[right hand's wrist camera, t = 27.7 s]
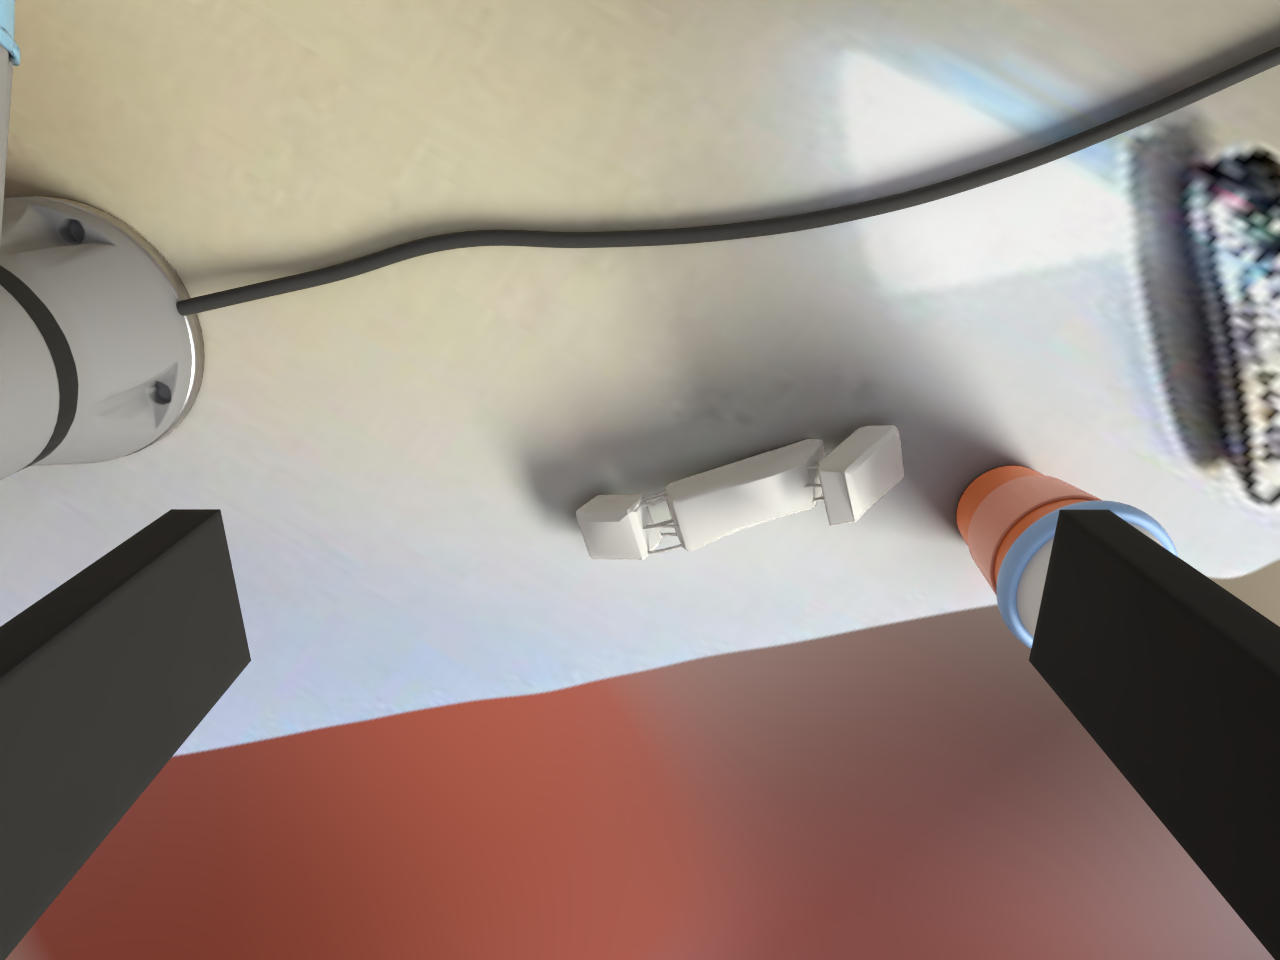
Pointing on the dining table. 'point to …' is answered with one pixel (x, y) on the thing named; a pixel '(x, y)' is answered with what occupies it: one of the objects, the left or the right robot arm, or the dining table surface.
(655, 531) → the clamp
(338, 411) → the dining table surface
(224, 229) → the dining table surface
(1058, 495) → the cup with straw
